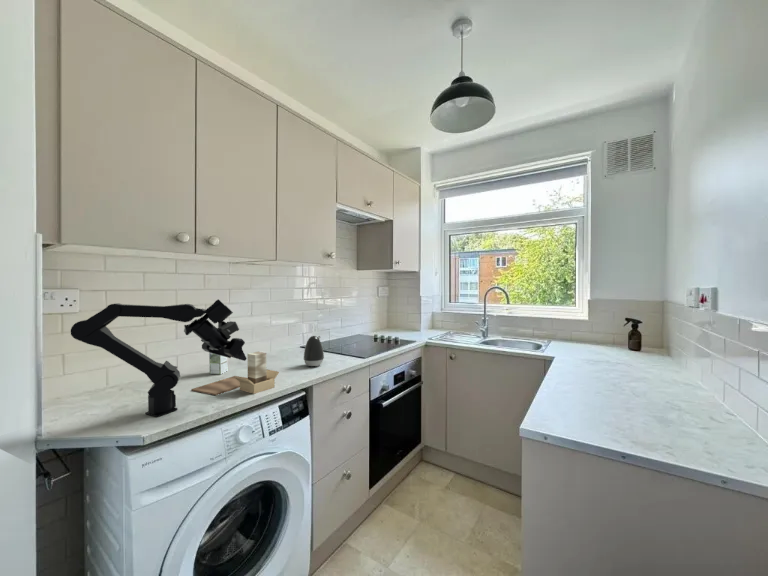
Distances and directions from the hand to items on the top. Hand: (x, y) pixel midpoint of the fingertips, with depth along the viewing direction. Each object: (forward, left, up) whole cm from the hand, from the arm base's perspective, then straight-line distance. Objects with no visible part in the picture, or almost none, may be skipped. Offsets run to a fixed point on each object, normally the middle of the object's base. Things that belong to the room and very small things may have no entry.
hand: (238, 358), depth 118 cm
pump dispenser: (+47, +1, -14) cm, 49 cm away
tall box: (+8, -1, -14) cm, 16 cm away
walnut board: (+6, +14, -14) cm, 20 cm away
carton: (+8, -1, -14) cm, 16 cm away
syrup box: (+18, +34, -14) cm, 41 cm away
